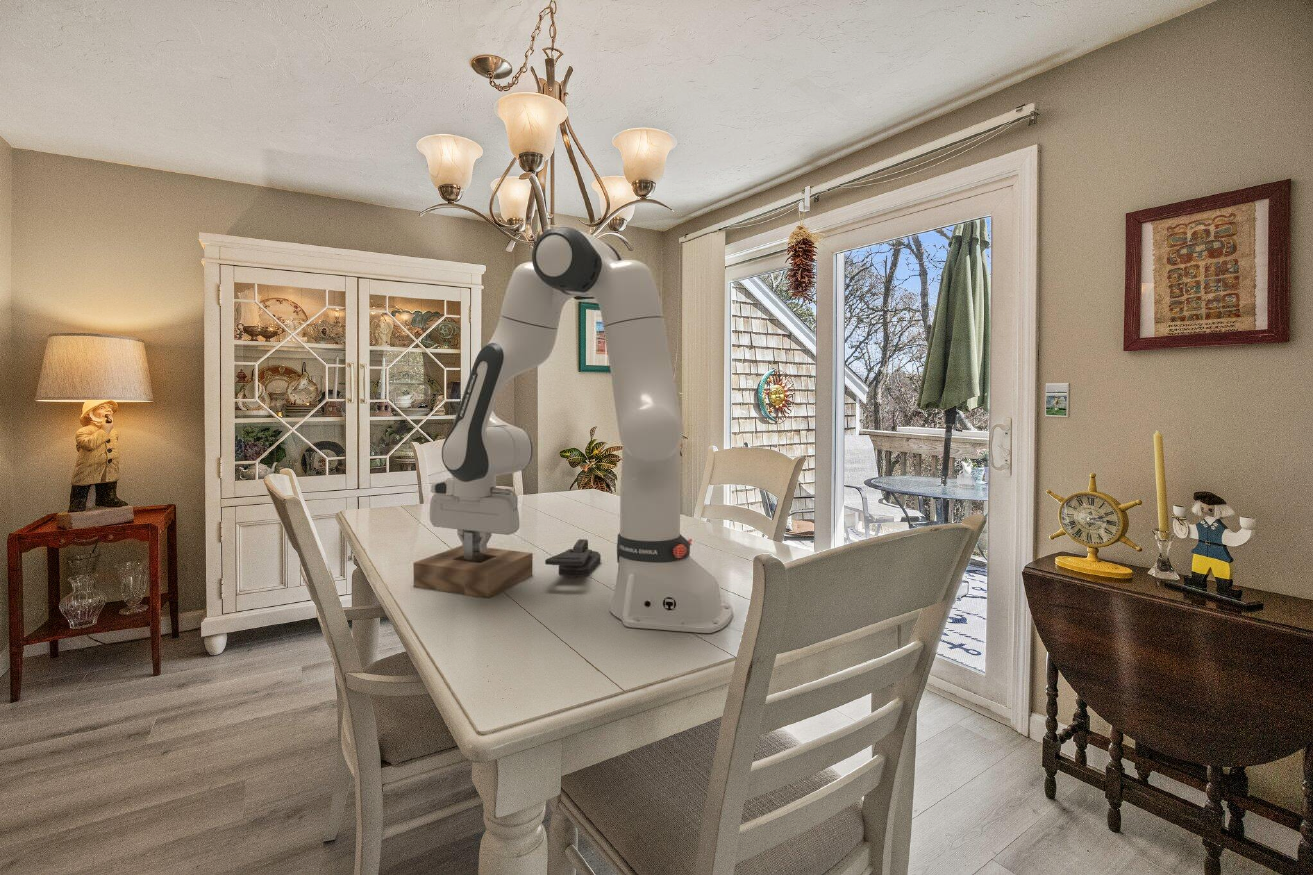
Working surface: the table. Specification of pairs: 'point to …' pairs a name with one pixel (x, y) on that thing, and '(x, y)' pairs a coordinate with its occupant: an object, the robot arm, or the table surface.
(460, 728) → the table surface
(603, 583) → the table surface
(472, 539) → the steel bracket
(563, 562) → the zipper pull
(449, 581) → the walnut well
